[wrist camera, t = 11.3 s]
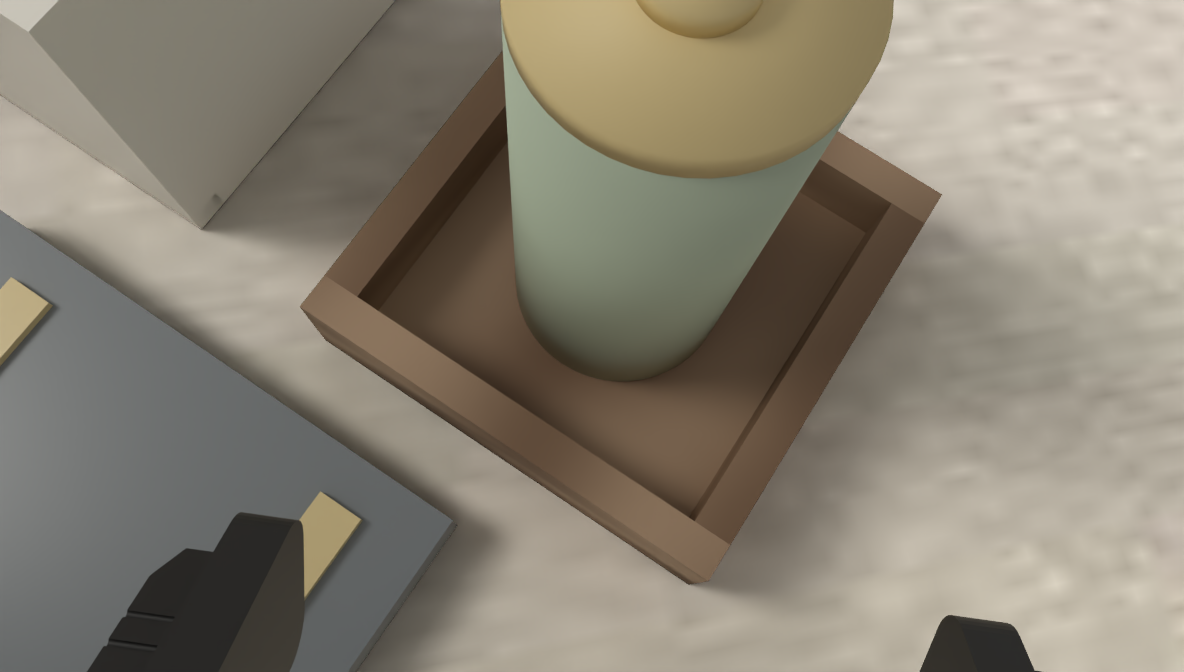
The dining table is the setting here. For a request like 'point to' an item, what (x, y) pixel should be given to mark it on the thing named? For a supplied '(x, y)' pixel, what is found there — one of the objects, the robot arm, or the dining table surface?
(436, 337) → the brown wooden tray
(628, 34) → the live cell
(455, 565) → the dining table surface
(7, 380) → the grey board
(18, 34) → the white planter box
